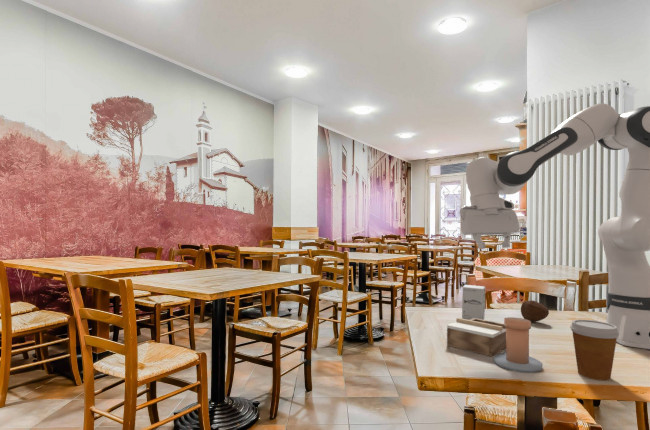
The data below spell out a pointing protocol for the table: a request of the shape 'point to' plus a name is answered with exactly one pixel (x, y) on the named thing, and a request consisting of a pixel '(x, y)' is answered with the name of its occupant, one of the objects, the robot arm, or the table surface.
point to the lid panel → (476, 327)
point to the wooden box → (478, 340)
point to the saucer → (530, 367)
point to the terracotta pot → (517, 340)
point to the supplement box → (473, 302)
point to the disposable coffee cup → (594, 348)
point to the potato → (533, 311)
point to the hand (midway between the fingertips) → (494, 248)
